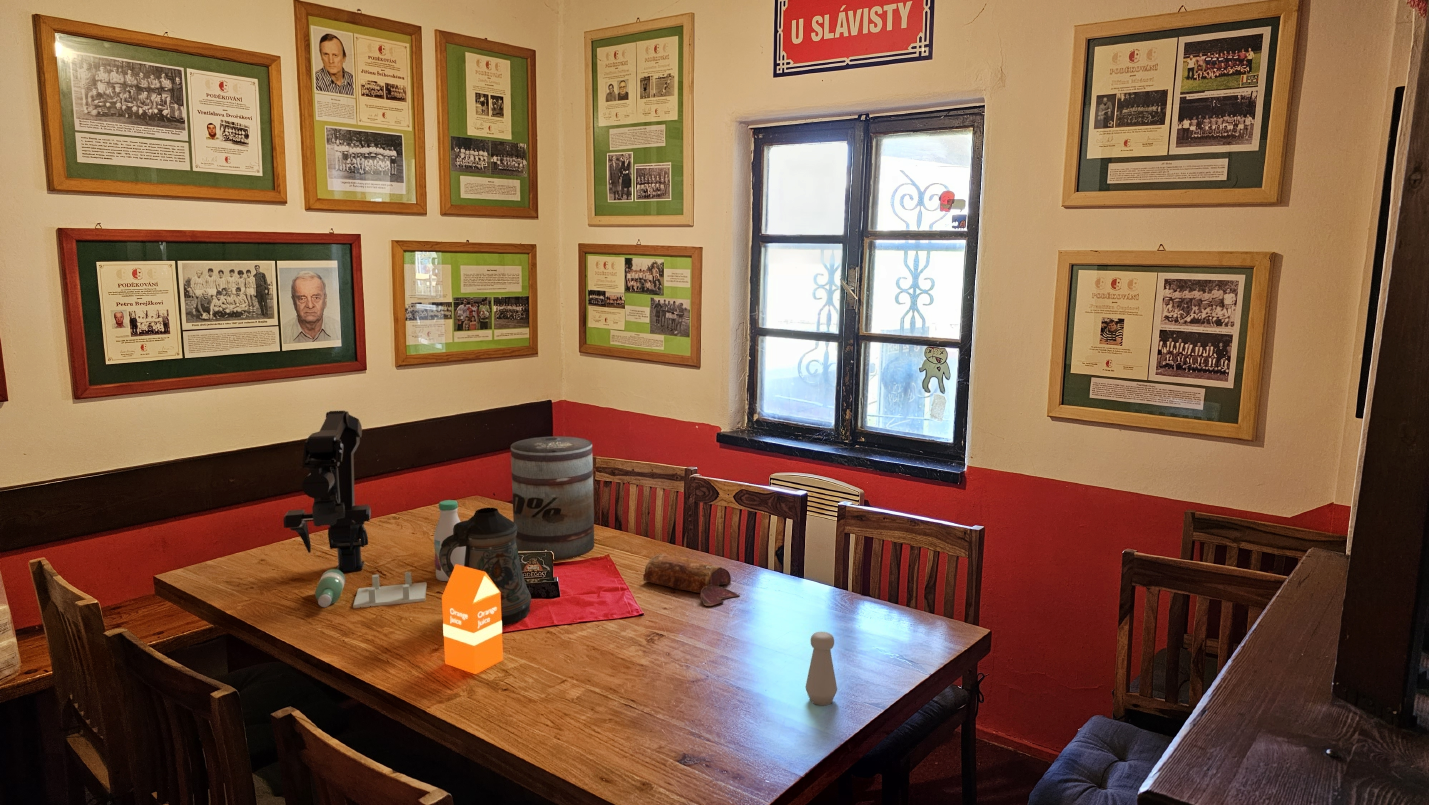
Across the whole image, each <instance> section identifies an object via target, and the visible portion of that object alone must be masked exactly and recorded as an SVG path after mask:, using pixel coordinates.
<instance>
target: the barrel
mask: <svg viewBox="0 0 1429 805" xmlns="http://www.w3.org/2000/svg"><path fill="white" fill-rule="evenodd" d="M593 459H594V458H593V442H592V441H591V440H589V439H587V438H582V437H576V436H574V437H573V436H541V437H540V436H539V437H531V438H524V439H522V440H521V439H520V440H518V441H515V442H512V444H510V463H511V468H510V469H511V488H512V518H513V520H512V521H513V522H514V523H515V524H516V526H517V528H518V529H517V535H516V537H515V540H516V546H517V550H518V551H545V550H547V551H552V552H553V553H554V559H555V560H554V561H561V560H563V561H564V560H568V559H573V557H574V558H578V557H582V556H584V555H586V554H588V553H590V552H591V551H592V550H593V549H594V548H595V521H594V520H595V518H594V517H595V515H594V514H595V512H594V511H595V510H594V470H593V469H594V468H593V465H594V464H593ZM581 555H582V556H581ZM577 556H578V557H577Z"/></svg>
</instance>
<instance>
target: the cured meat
mask: <svg viewBox="0 0 1429 805" xmlns="http://www.w3.org/2000/svg"><path fill="white" fill-rule="evenodd" d="M642 578H643V579H642V580H643V581H644V582H647V583H651V584H656V585H660V586H665V587H668V588H672V589H674V590H675V589H676V590H682V591H688V592H693V593H698V594H700V599H701V601H702V604H703V605H705V606H708V607H711V606H717V605H719V604H721V603H724V600H726V599H730V598H735V597H740V594H738V593H736V592H735V591H732V590H730V589H727V588H725V587H723V585H726V586H729V585H730V584H731V583H732V580H731V579H732V577H731V574H730V572H729V570H727V569H726V568H723V567H722V566H719V565H718V566H717V565H713V564H711V563H707V562H705V561H700V560H696V559H692V558H688V557H681V556H673V555H668V554H663V553H662V554H661V553H660V554H658V555H655V556H653V557H651V559H649V560H648V562H646V565H645V567H644V574H643V575H642ZM720 585H721V586H720Z"/></svg>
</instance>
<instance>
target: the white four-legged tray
mask: <svg viewBox="0 0 1429 805" xmlns="http://www.w3.org/2000/svg"><path fill="white" fill-rule="evenodd" d="M371 579H372V580H371V582H372V586H371V587H359V588H358V589H357V592H356V594H355V595H356V596H355V598H354V601H353V606H352V607H353V609H360V607H361V608H368V607H370V606H371V607H379V606H380V607H381V606H390V605H391V606H392V605H399V604H400V605H401V604H412V603H420V602H426V595H427V582H426V581H423V582H413V581H412V580H413V579H412V571H405V572H404V583H405V584H404V583H402V584H395V585H394V584H391V585H382V586H380V574H378V573H377V574H372V575H371ZM412 582H413V583H412Z"/></svg>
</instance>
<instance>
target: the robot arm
mask: <svg viewBox="0 0 1429 805" xmlns="http://www.w3.org/2000/svg"><path fill="white" fill-rule="evenodd" d="M362 434H363V428H362V424H361V421H360V419H359V418H357V417H355V416H353V415H351V414H350V413H349V411H347V410H329V411H327V412H326V413H325V419H324V422H323V424H322V425H321V428H320V429H319V431H317V432H314V433H311V434H310V435H309V436H308V437H307V440H305V441H304V447H303V457H302V469H309V473H308V475H307V476H305V478H304V479H303V481H302V485H301V486H302V491H303V493H304V494H305V495H306V496H307V497H309V498H311V499H313V504H312V512H308V513H306V511H305V509H303V508H302V509H295V510H294V509H291V510H288V511H287V512H286V513H285V515H284V517H283V522H282V523H283V528H285V529H287V528H288V529H290V531H291V532H293V531H295V532H296V533H297V534H298V536H299V537H300V539H301V540H302V542H303V544H304V546H305V549H306V551H307V553H308V554H310V553H311V552H312V544H311V538H310V533H309V527H308V522H313V526H314V527H321V526H328V529H327V538H328V543H329V544H328V545H329V549H330V550H334V549H336V552H337V565H336V569H337V570H339V571H341V572H342V573H348V572H359V571H363V568H364V566H365V561H364V560H363V561H362V550H361V548H365V546H369V537H368V532H367V529H365V528H366V527H365V526H364V525H365V523H366V522H370V520H371V516H372V513H371V512H372V509H371V506H370V505H369V504H357V505H356V503H355V500H356V499H355V466H354V465H355V463H354V461H355V460H354V458H355V456H354V454H355V452H356V451H357V449H358V447H359V445H360V442H361V439H360V438H362Z"/></svg>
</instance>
